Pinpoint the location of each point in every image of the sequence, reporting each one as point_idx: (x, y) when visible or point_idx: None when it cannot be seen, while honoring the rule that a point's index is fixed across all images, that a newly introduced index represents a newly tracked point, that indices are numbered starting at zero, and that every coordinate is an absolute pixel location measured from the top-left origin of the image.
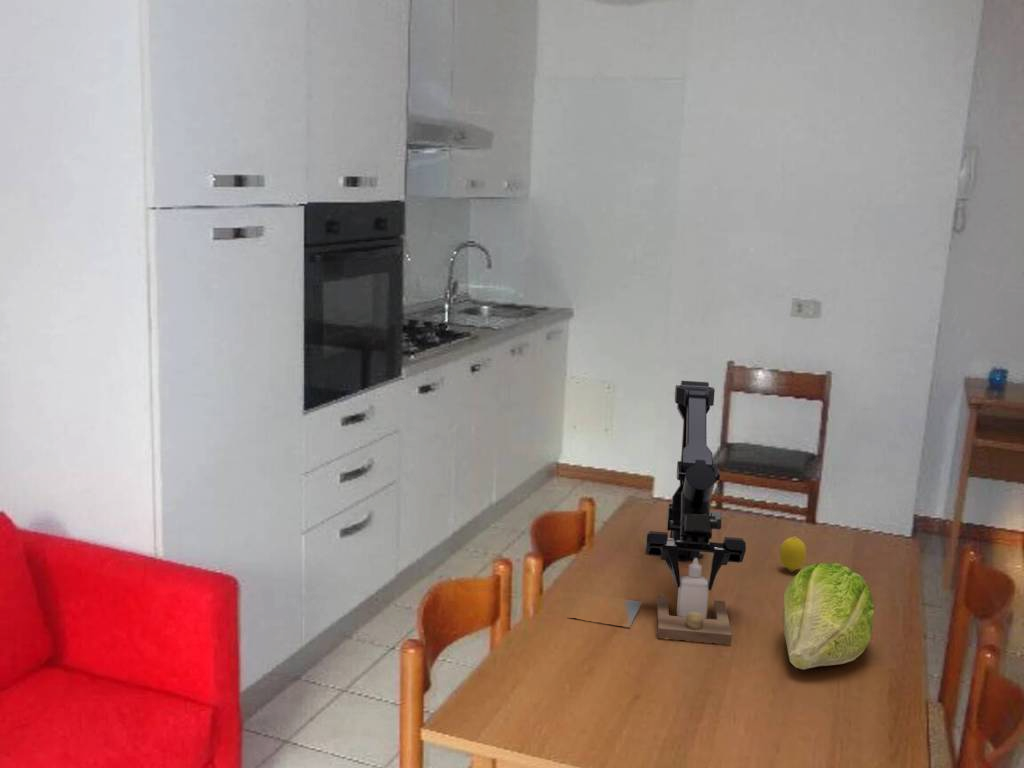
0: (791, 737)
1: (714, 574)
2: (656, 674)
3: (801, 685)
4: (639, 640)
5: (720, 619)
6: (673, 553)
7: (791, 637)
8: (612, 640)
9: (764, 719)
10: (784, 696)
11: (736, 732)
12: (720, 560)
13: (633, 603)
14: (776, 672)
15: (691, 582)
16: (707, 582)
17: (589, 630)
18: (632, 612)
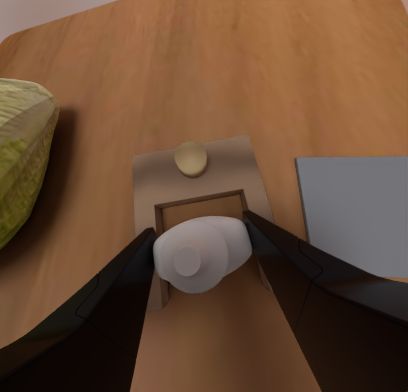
0: (98, 25)
1: (116, 260)
2: (225, 66)
3: (68, 101)
4: (268, 131)
5: (149, 207)
6: (386, 293)
7: (22, 97)
8: (303, 117)
9: (117, 37)
10: (91, 76)
11: (142, 15)
12: (22, 341)
13: None
14: (90, 117)
15: (207, 218)
16: (155, 243)
17: (349, 132)
18: (314, 213)
